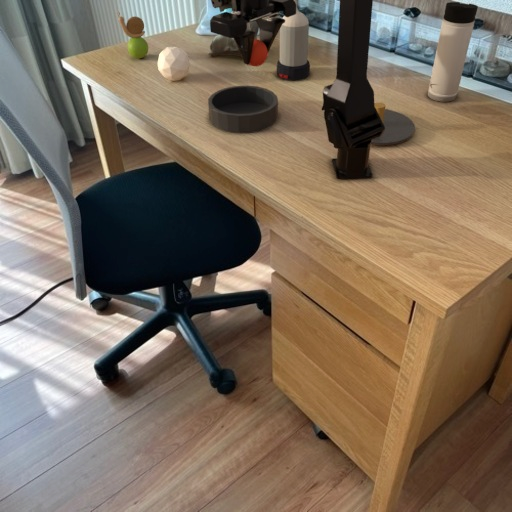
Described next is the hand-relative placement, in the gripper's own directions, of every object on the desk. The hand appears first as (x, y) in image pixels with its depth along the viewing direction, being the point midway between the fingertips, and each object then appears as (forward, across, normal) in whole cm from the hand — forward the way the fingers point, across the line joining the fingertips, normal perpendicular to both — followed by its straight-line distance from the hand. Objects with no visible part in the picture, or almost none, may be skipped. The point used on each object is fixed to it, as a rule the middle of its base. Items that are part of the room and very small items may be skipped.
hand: (255, 60), depth 106 cm
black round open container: (+12, +2, -2) cm, 12 cm away
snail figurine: (+12, -4, -47) cm, 49 cm away
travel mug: (+12, -34, +26) cm, 44 cm away
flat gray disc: (+11, -11, +23) cm, 28 cm away
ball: (-2, 0, 0) cm, 2 cm away
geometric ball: (+12, -2, -28) cm, 31 cm away
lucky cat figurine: (+12, -22, -28) cm, 38 cm away
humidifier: (+12, -22, -8) cm, 27 cm away
